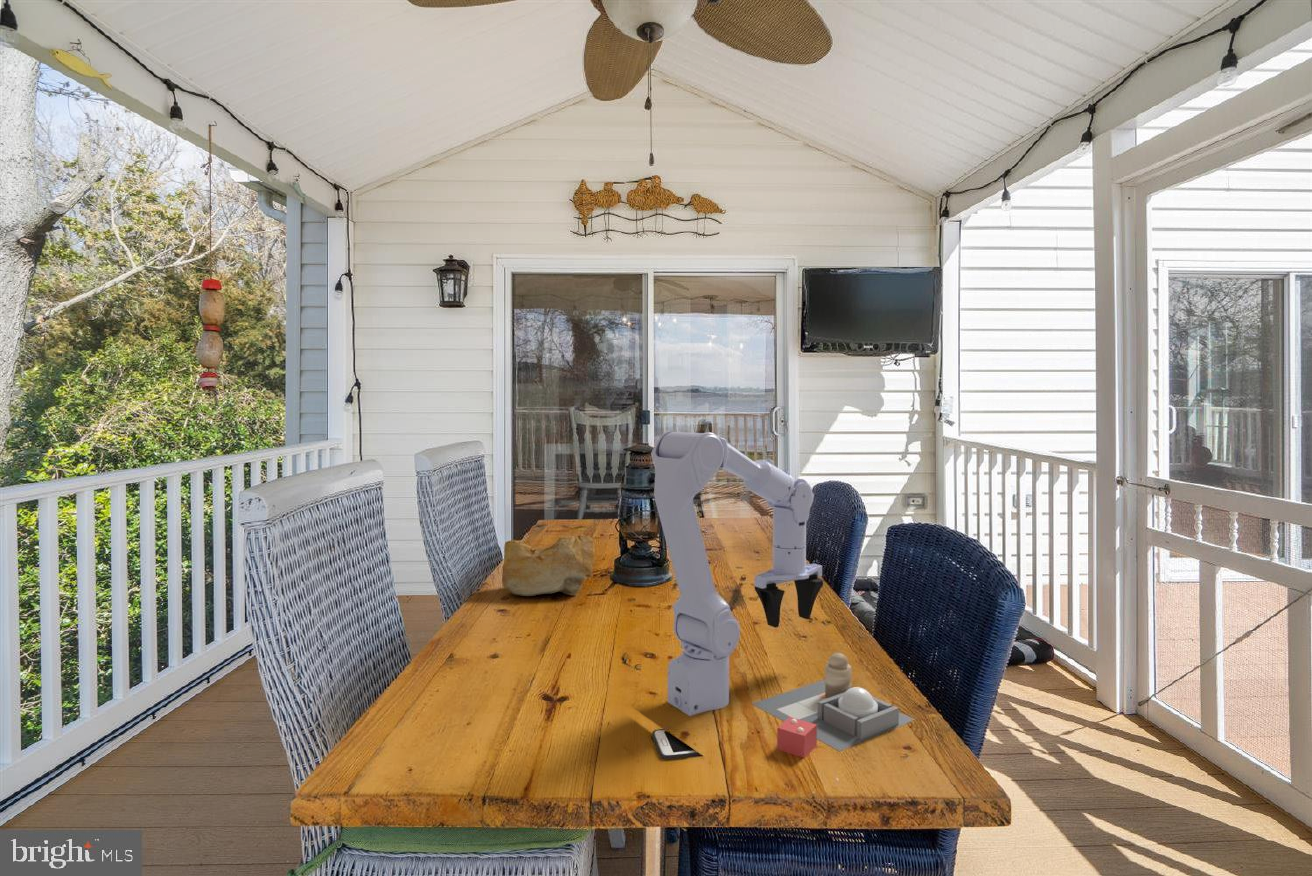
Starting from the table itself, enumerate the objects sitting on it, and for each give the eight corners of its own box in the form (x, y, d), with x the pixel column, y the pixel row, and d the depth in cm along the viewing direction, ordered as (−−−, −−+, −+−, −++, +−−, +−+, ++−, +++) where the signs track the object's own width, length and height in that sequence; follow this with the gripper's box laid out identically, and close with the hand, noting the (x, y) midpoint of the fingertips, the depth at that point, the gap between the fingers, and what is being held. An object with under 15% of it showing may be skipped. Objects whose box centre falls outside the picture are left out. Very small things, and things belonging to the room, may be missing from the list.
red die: (804, 765, 94) (804, 733, 94) (777, 756, 96) (777, 724, 96) (816, 752, 97) (816, 721, 97) (790, 744, 100) (790, 714, 99)
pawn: (839, 704, 110) (839, 660, 110) (819, 695, 113) (820, 652, 113) (856, 698, 112) (856, 654, 112) (837, 689, 116) (837, 647, 115)
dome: (860, 731, 101) (860, 699, 100) (830, 716, 105) (830, 686, 105) (885, 720, 104) (886, 690, 103) (855, 707, 108) (855, 677, 108)
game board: (839, 758, 96) (839, 733, 96) (751, 709, 111) (751, 688, 111) (915, 726, 105) (915, 703, 105) (824, 685, 120) (824, 665, 120)
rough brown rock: (604, 586, 186) (603, 529, 187) (592, 599, 170) (591, 536, 170) (519, 587, 188) (517, 531, 189) (499, 600, 172) (497, 538, 172)
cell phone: (650, 736, 103) (650, 730, 103) (746, 726, 106) (746, 720, 106) (661, 763, 96) (661, 756, 96) (764, 752, 98) (764, 745, 98)
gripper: (774, 555, 116) (774, 636, 117) (835, 544, 124) (834, 620, 125) (746, 547, 122) (746, 624, 123) (806, 537, 130) (805, 610, 131)
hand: (789, 621), depth 124 cm, fingers open, 7 cm apart
